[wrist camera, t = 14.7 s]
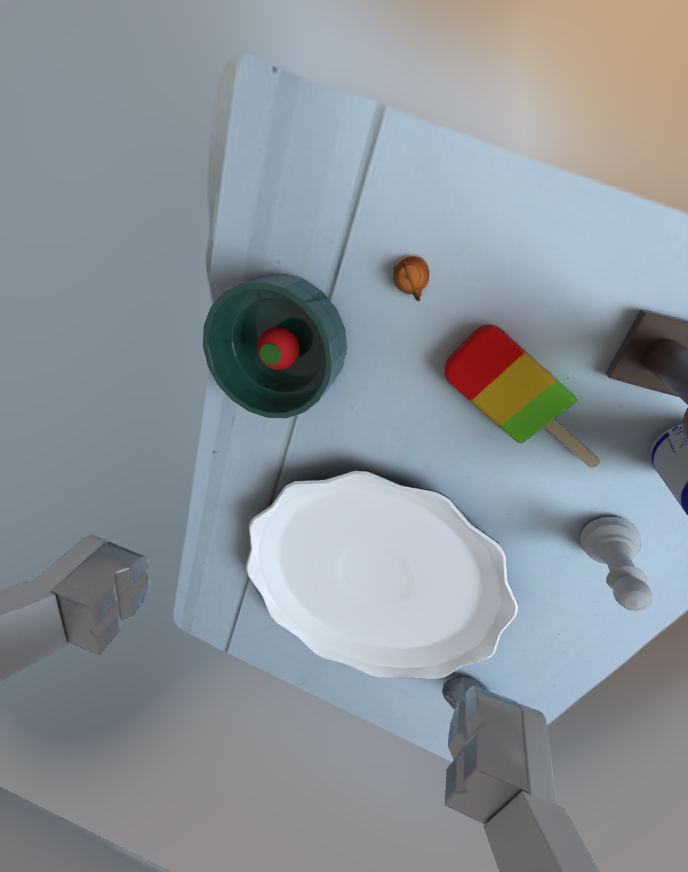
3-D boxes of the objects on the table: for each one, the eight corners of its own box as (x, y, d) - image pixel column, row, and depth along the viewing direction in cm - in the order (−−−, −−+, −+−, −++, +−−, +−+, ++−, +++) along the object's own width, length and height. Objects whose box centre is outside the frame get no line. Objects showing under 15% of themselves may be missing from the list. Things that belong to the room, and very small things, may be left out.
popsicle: (488, 315, 33) (489, 321, 31) (623, 438, 35) (631, 450, 33) (438, 366, 36) (436, 374, 34) (565, 477, 37) (569, 490, 36)
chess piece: (651, 537, 38) (690, 609, 31) (604, 564, 40) (631, 636, 33) (612, 505, 37) (643, 571, 30) (567, 534, 40) (586, 601, 33)
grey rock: (438, 675, 54) (435, 715, 49) (452, 661, 52) (450, 702, 47) (497, 706, 53) (499, 749, 49) (514, 694, 51) (517, 738, 47)
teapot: (435, 260, 32) (433, 264, 30) (422, 299, 34) (419, 306, 31) (399, 249, 33) (393, 252, 30) (388, 289, 34) (381, 294, 32)
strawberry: (270, 317, 37) (251, 327, 34) (308, 328, 37) (293, 339, 33) (265, 356, 39) (247, 369, 36) (302, 367, 38) (287, 381, 35)
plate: (362, 405, 39) (356, 416, 37) (576, 600, 43) (581, 620, 41) (214, 552, 54) (203, 566, 52) (382, 688, 58) (379, 706, 56)
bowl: (237, 259, 36) (205, 266, 32) (360, 293, 35) (344, 304, 30) (228, 377, 42) (200, 396, 37) (334, 410, 40) (318, 434, 36)
